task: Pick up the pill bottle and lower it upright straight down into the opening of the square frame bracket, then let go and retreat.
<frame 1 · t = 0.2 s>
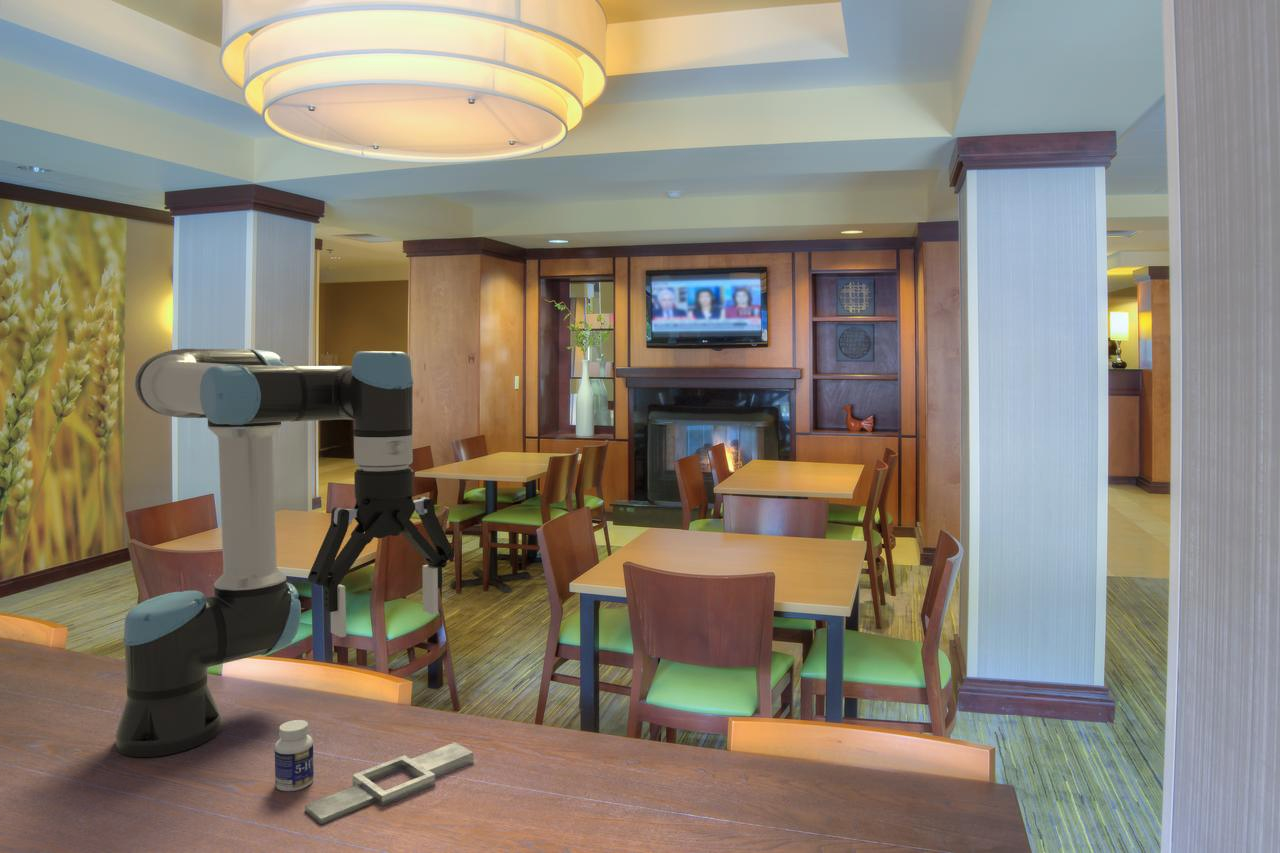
hand: (386, 623, 111), 27 cm above the table, fingers open, 13 cm apart
pill bottle: (295, 784, 122), on the table
square frame bracket: (394, 784, 122), on the table
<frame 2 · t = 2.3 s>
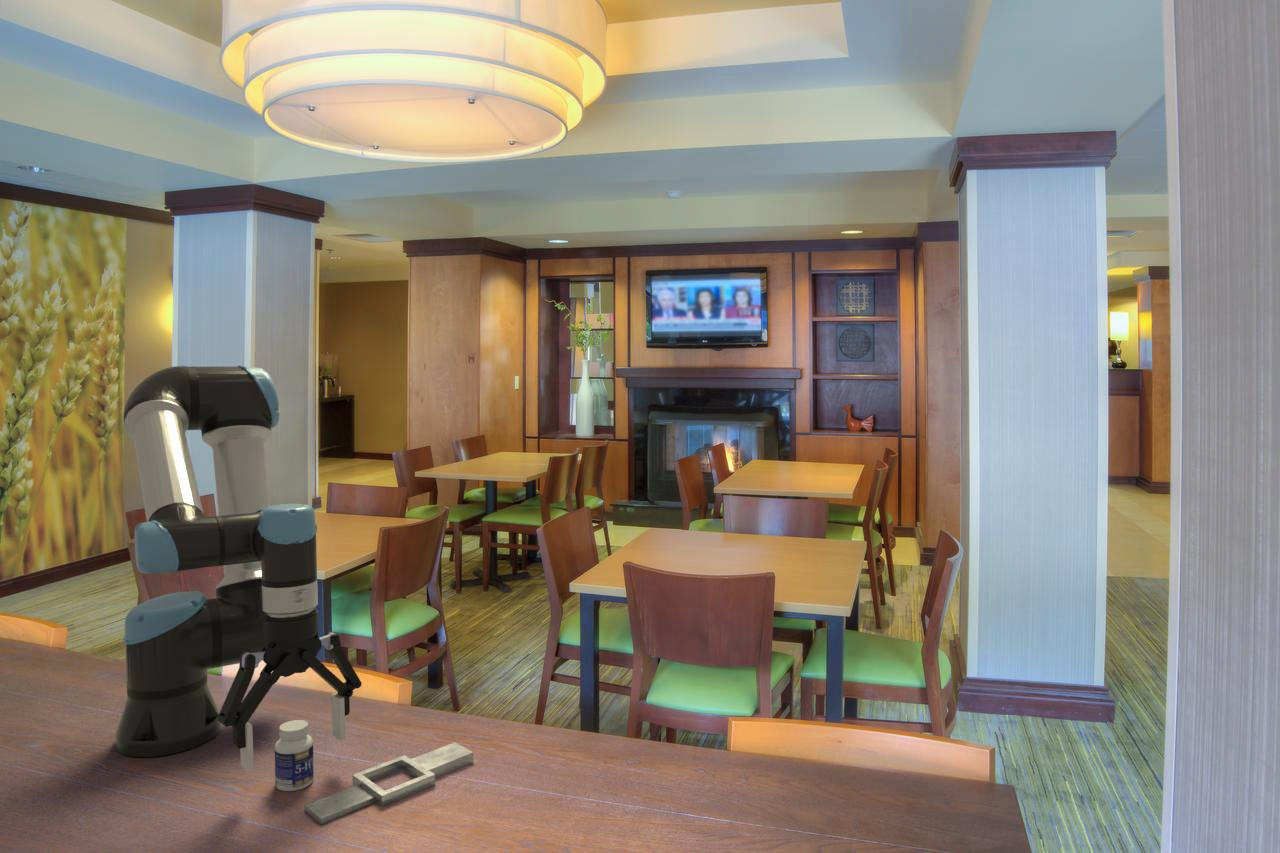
hand: (294, 752, 121), 5 cm above the table, fingers open, 13 cm apart
nothing on the table moved.
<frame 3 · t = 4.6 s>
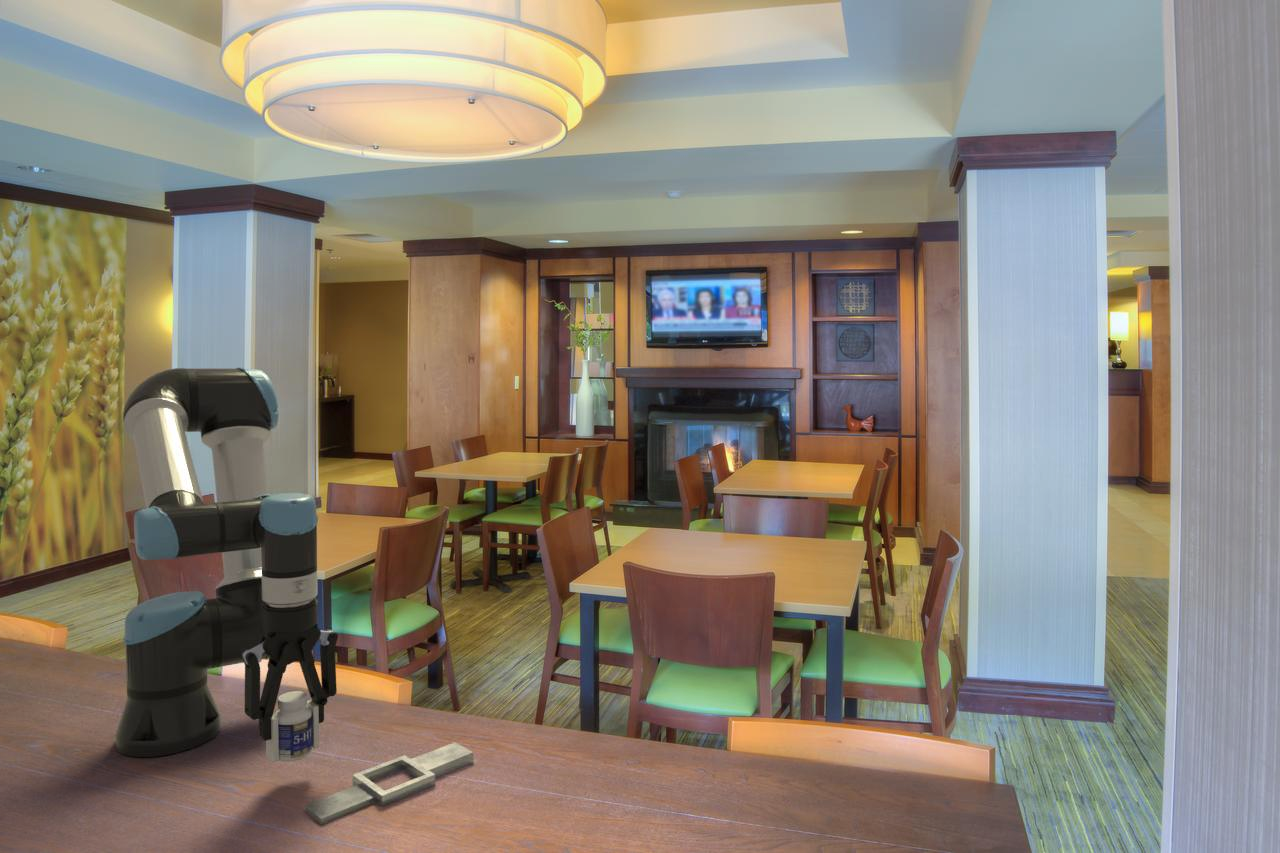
hand: (292, 751, 122), 5 cm above the table, fingers closed on pill bottle, 5 cm apart
pill bottle: (293, 755, 122), point 4 cm above the table, touching gripper
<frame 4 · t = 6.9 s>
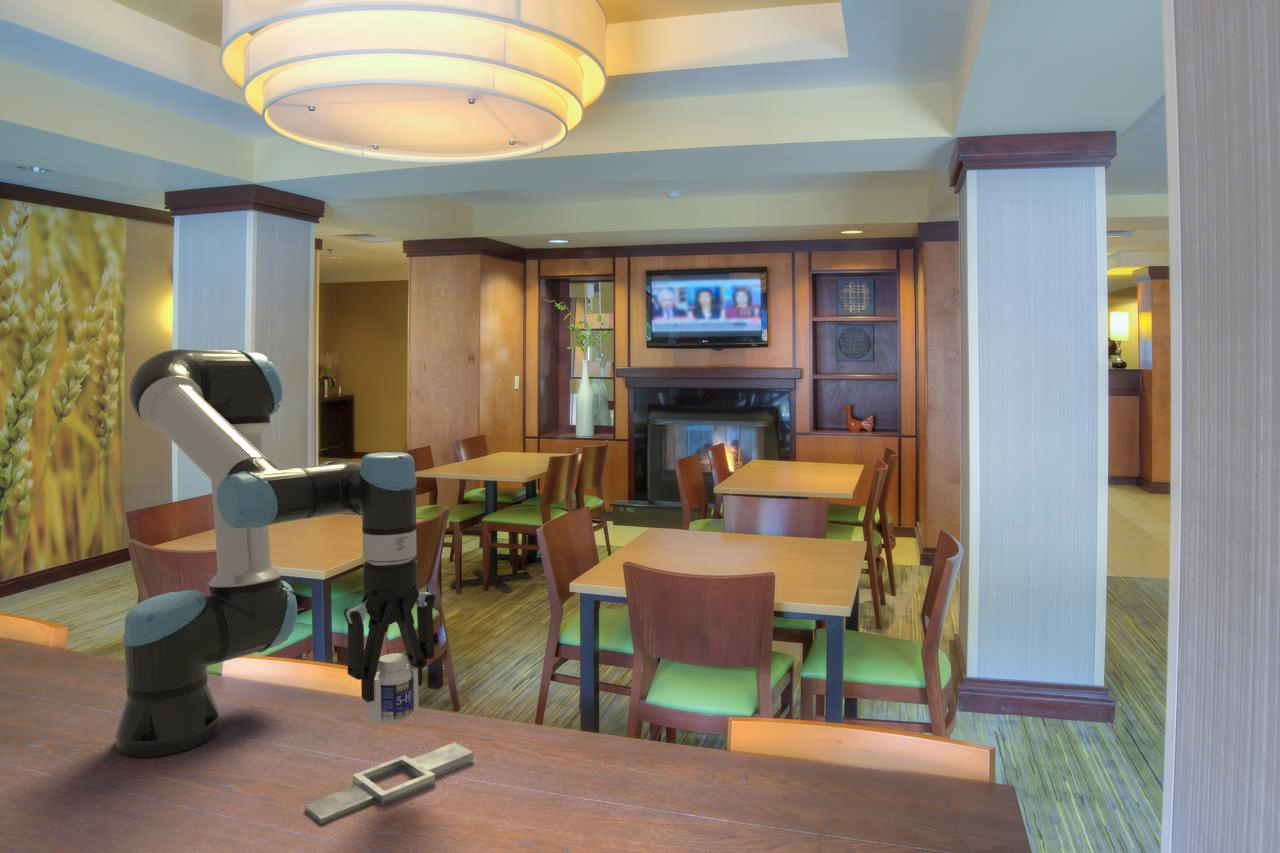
hand: (393, 714, 121), 11 cm above the table, fingers closed on pill bottle, 5 cm apart
pill bottle: (393, 718, 121), point 10 cm above the table, touching gripper
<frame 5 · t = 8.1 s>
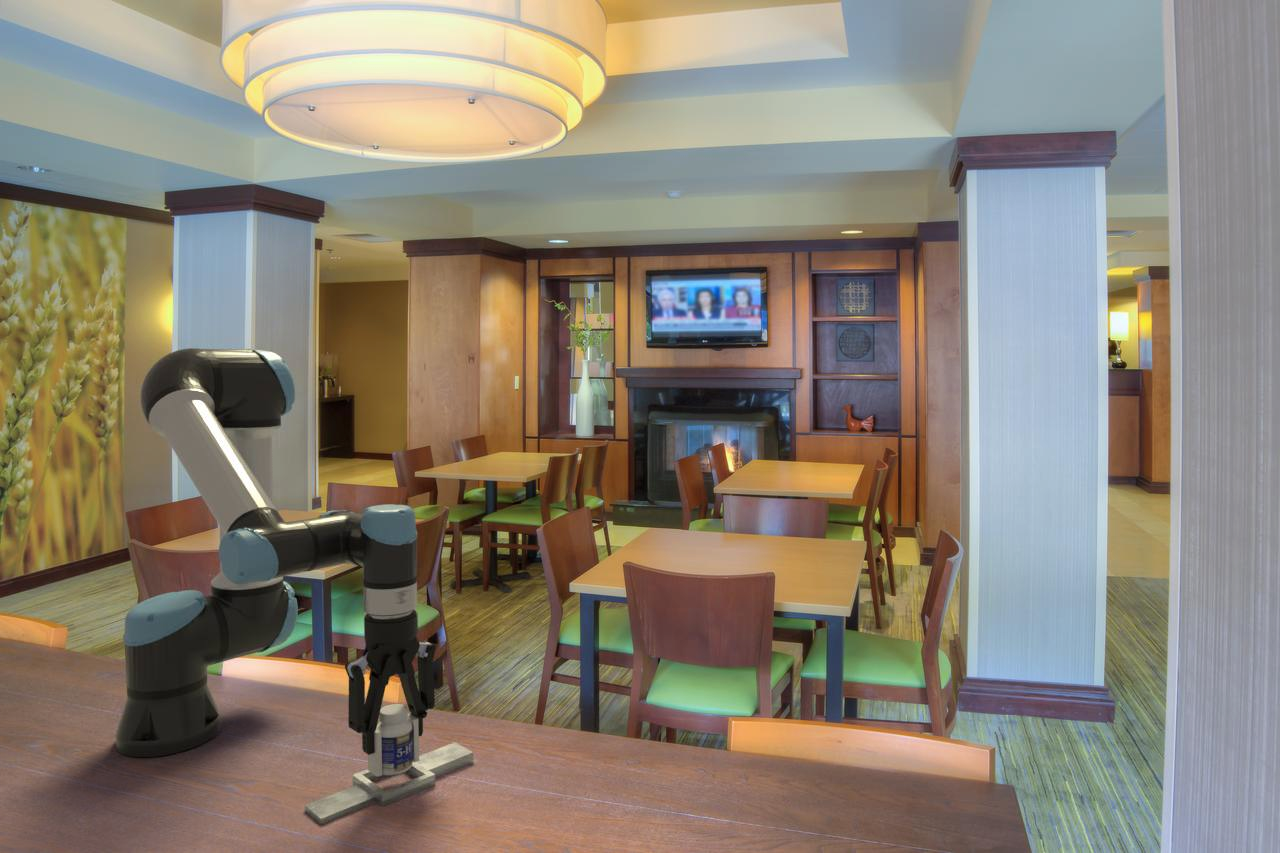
hand: (393, 765, 121), 3 cm above the table, fingers closed on pill bottle, 5 cm apart
pill bottle: (394, 768, 121), point 3 cm above the table, touching gripper
when the fingers open (2 cm above the table, at t = 9.0 s): pill bottle drops 2 cm, resting in square frame bracket.
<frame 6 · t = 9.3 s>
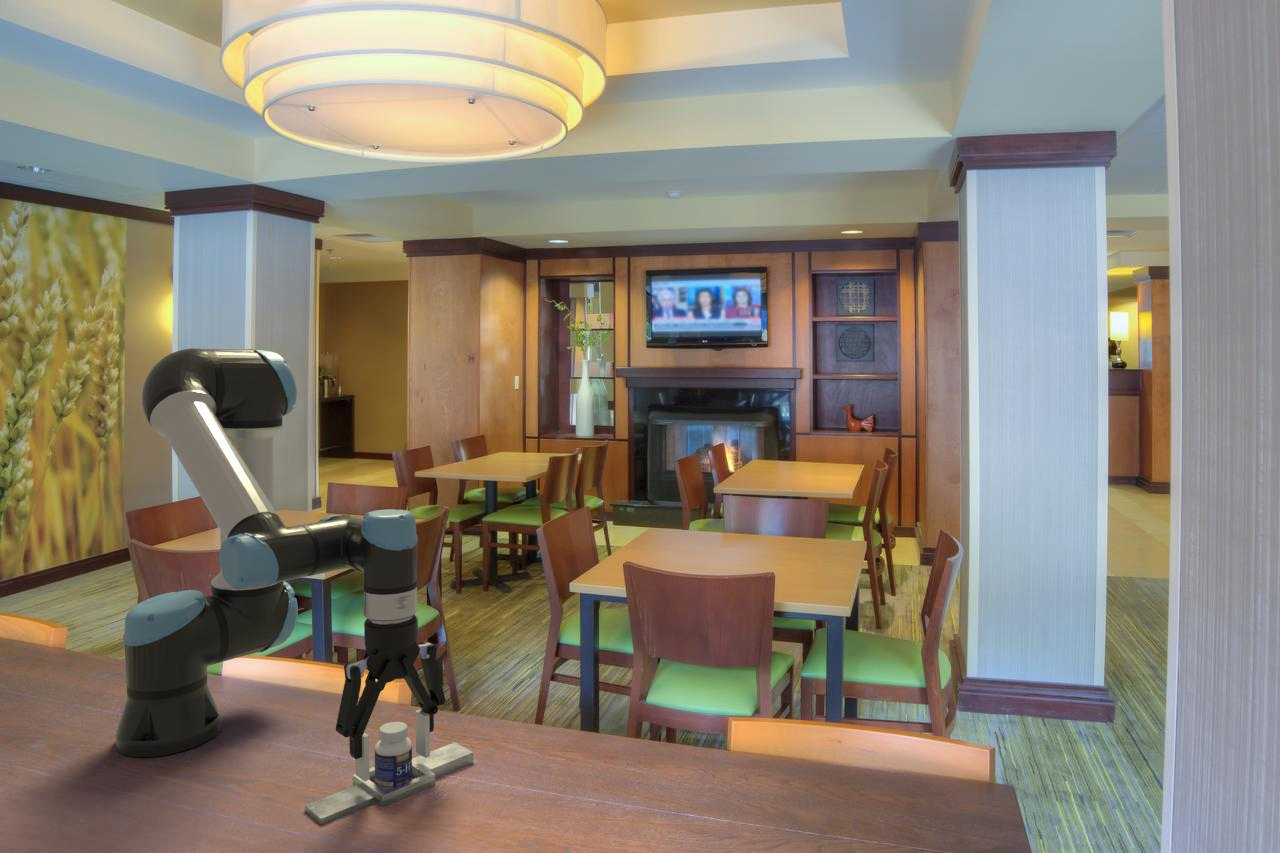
hand: (393, 765, 121), 3 cm above the table, fingers open, 9 cm apart
pill bottle: (393, 786, 122), resting in square frame bracket
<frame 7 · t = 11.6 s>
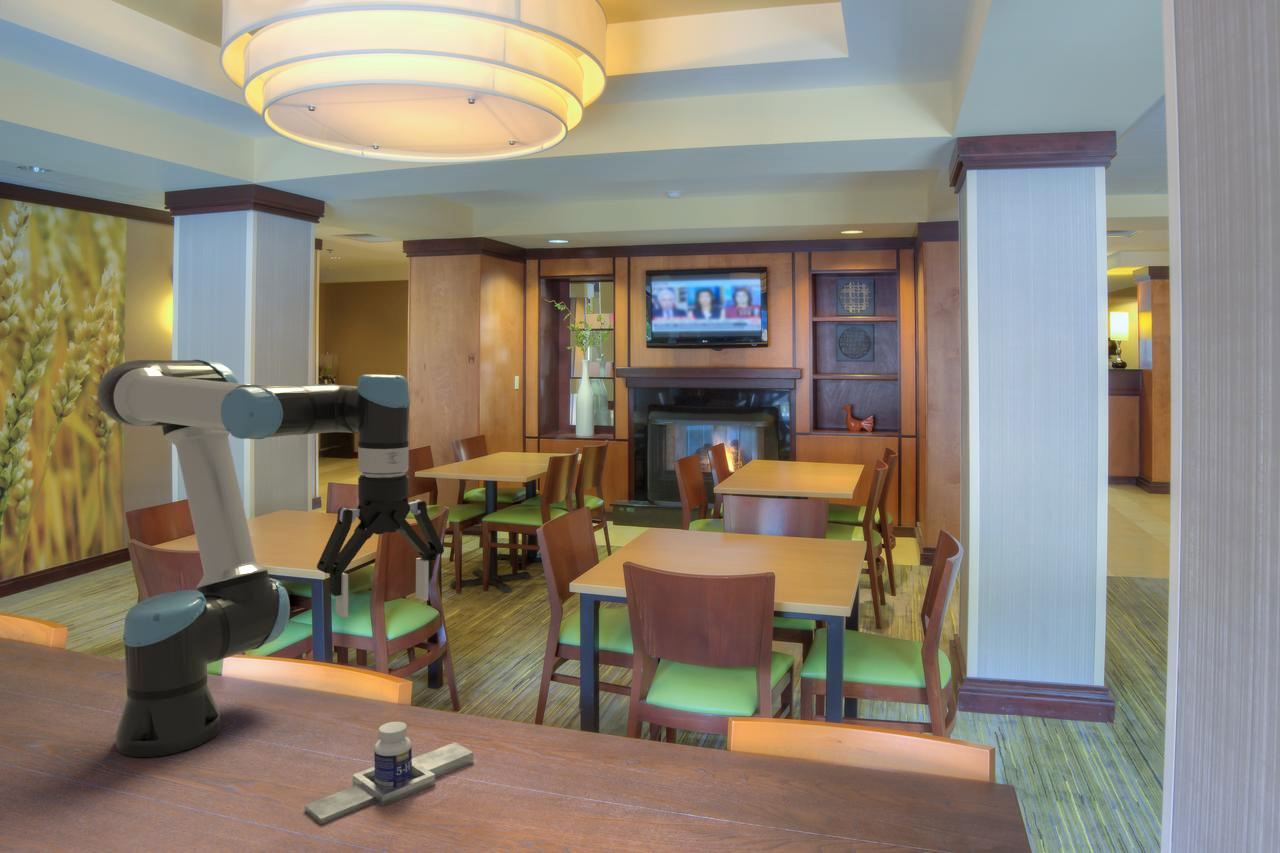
hand: (383, 606, 130), 24 cm above the table, fingers open, 13 cm apart
nothing on the table moved.
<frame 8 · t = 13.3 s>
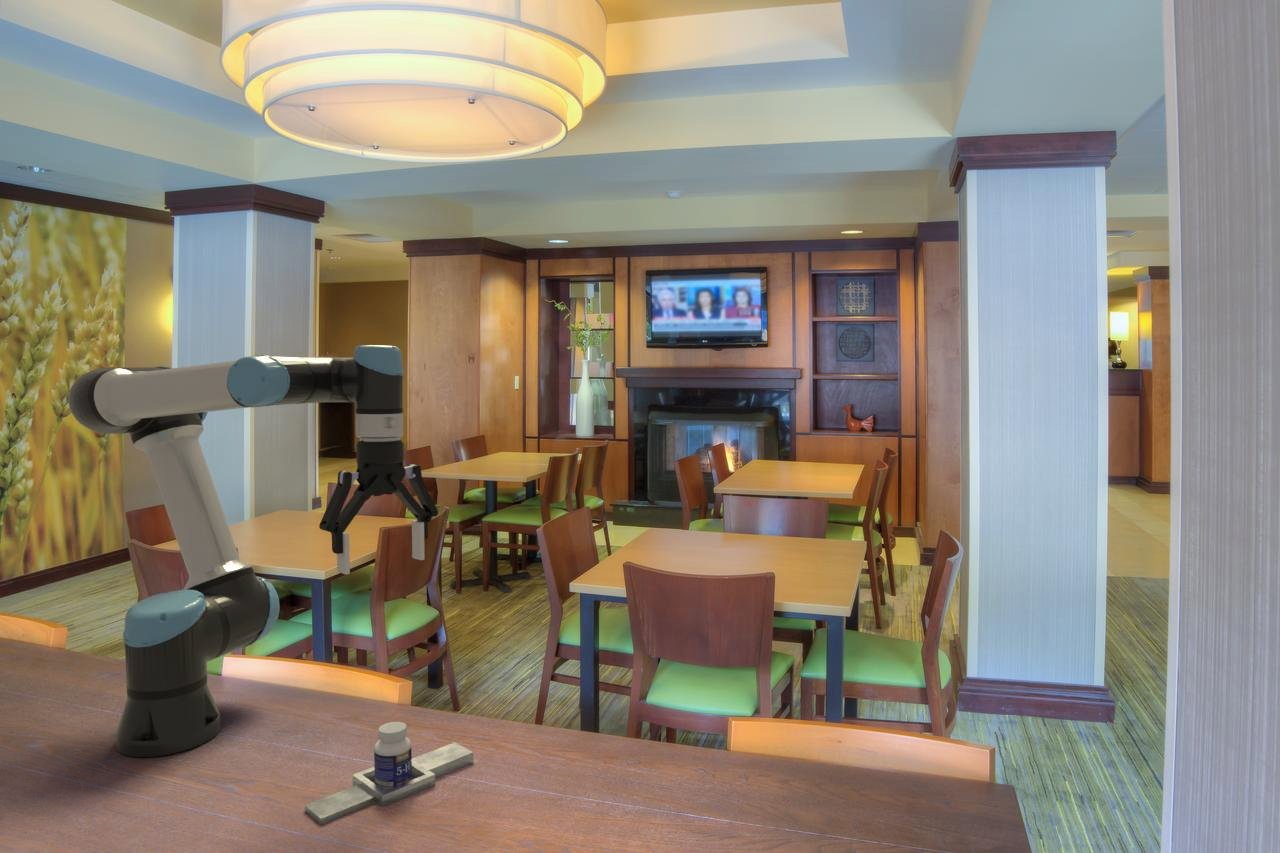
hand: (382, 565, 137), 29 cm above the table, fingers open, 13 cm apart
nothing on the table moved.
at the end: pill bottle 0.1 cm off-centre on the square frame bracket, point 0.0 cm above the square frame bracket's base; pill bottle tilted 0°; the gripper is holding nothing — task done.
